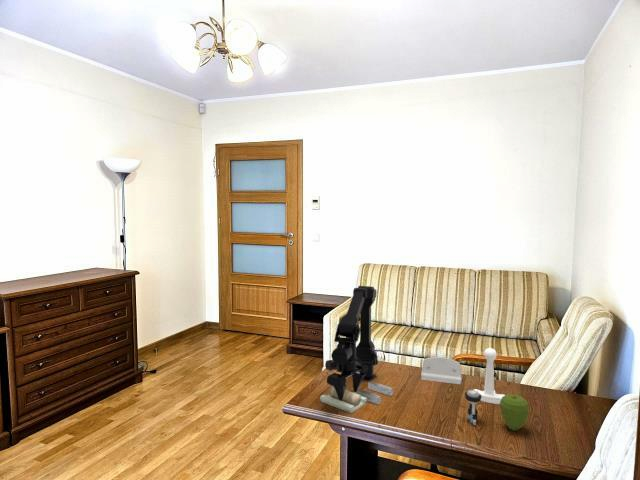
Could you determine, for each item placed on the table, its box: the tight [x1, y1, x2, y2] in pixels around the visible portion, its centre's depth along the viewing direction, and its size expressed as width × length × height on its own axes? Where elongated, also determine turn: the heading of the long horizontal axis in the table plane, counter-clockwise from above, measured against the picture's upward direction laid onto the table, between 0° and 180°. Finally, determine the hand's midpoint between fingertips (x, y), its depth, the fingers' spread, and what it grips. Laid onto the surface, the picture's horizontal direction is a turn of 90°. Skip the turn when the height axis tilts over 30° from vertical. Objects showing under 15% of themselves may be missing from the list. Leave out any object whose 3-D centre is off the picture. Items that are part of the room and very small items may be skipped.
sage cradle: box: [319, 394, 368, 414], centre depth 153 cm, size 10×14×2 cm
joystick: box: [473, 347, 506, 405], centre depth 156 cm, size 11×8×20 cm
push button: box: [464, 389, 482, 426], centre depth 140 cm, size 7×5×10 cm
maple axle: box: [328, 385, 361, 406], centre depth 153 cm, size 12×4×4 cm, turn 51°
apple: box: [499, 393, 530, 432], centre depth 135 cm, size 9×8×12 cm
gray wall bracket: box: [420, 356, 463, 385], centre depth 175 cm, size 17×5×10 cm, turn 73°
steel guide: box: [355, 380, 394, 406], centre depth 159 cm, size 11×10×2 cm
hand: (347, 396), depth 152 cm, fingers open, 9 cm apart
